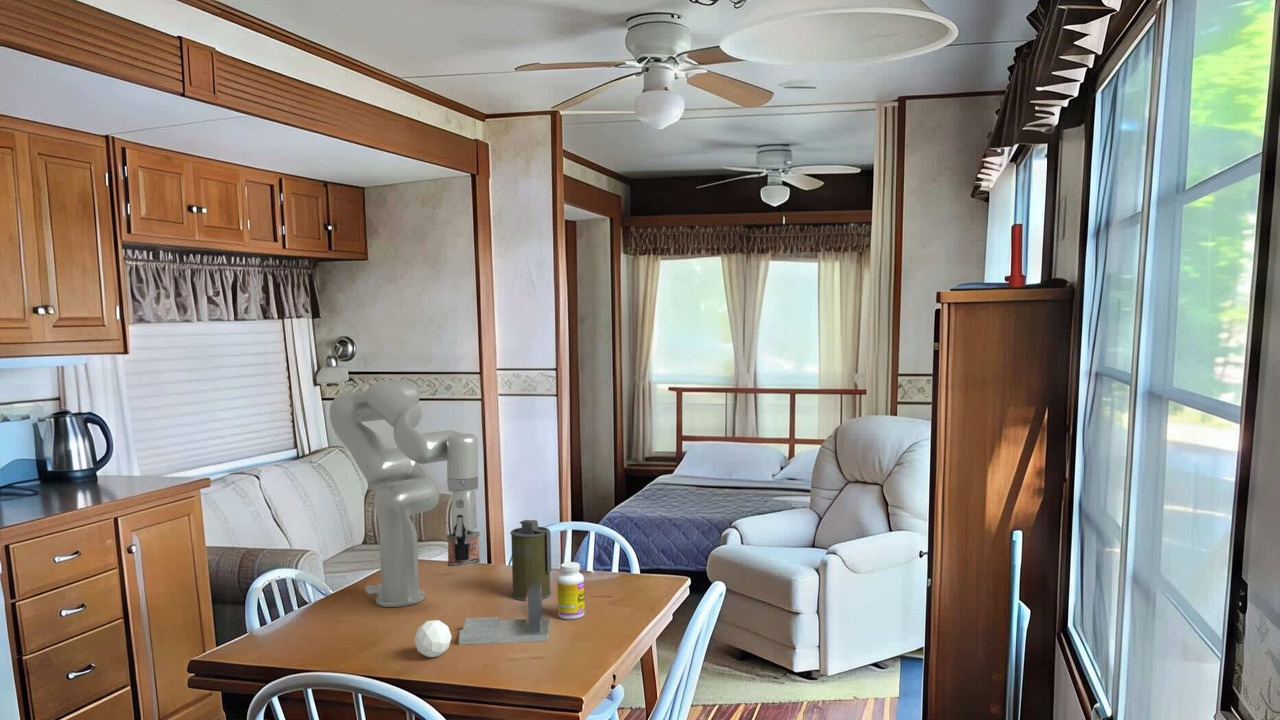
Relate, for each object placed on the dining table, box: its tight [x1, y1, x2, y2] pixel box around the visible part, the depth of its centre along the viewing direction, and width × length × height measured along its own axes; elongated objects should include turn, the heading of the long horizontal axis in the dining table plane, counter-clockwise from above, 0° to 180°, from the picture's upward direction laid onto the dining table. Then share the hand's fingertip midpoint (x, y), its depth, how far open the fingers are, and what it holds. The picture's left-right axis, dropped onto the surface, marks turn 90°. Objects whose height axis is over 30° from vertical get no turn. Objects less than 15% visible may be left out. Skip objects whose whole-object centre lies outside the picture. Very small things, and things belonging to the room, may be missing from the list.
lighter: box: [446, 523, 481, 568], centre depth 206 cm, size 8×3×10 cm, turn 117°
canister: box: [509, 519, 552, 602], centre depth 223 cm, size 11×10×20 cm
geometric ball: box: [414, 619, 453, 658], centre depth 182 cm, size 8×8×8 cm
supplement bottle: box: [556, 561, 586, 621], centre depth 206 cm, size 7×7×13 cm
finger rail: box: [458, 583, 551, 646], centre depth 194 cm, size 20×11×10 cm, turn 93°
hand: (463, 556), depth 206 cm, fingers closed on lighter, 4 cm apart
